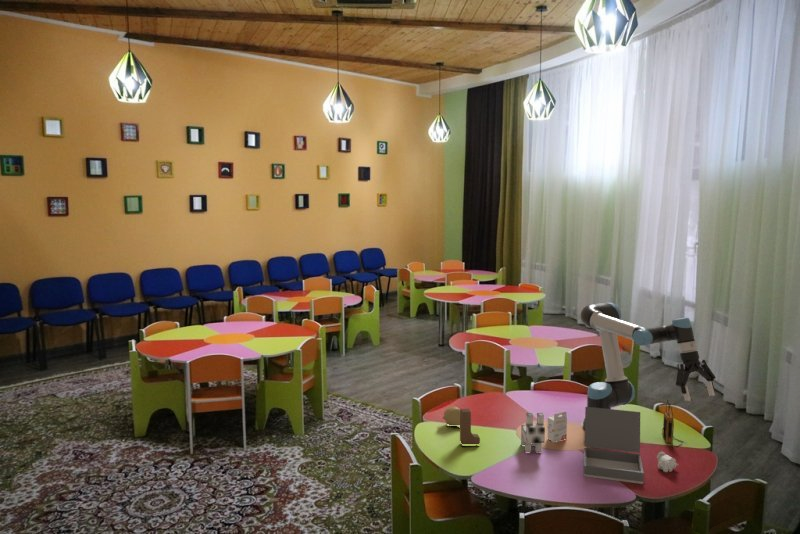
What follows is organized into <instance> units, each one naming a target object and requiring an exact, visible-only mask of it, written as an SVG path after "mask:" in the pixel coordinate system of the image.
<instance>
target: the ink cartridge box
mask: <svg viewBox="0 0 800 534" xmlns="http://www.w3.org/2000/svg"><path fill="white" fill-rule="evenodd" d="M567 426H568V415H567V411H563V412H559V413H554V414H553V416H548V417H547V438H548V439H549V440H551V441H553V442H556V441H559V442H561V441H560V440H563V441H565V440H564V439H566V440H567V437H568V435H567V434H568V433H567V431H568V429H567V428H568V427H567ZM549 440H548V441H549ZM551 441H550V442H551ZM553 442H552V443H553ZM556 443H557V442H556Z"/></svg>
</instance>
